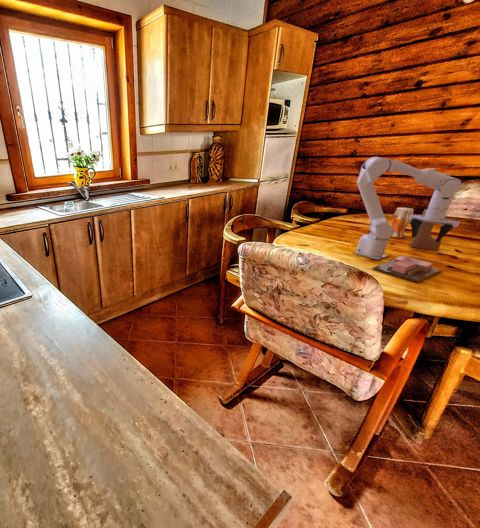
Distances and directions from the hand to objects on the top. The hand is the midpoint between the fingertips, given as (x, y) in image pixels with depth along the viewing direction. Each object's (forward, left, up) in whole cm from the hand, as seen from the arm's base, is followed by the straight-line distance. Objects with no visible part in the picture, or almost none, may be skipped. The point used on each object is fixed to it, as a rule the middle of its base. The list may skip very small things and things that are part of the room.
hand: (425, 239), depth 118 cm
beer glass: (-20, +28, -10) cm, 36 cm away
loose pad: (+3, -20, -8) cm, 22 cm away
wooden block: (-5, +19, -10) cm, 22 cm away
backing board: (+3, -17, -9) cm, 20 cm away
